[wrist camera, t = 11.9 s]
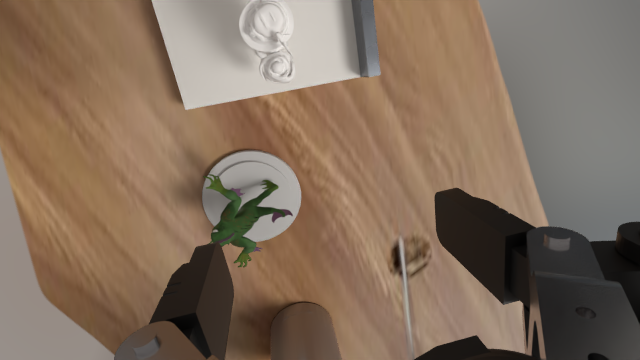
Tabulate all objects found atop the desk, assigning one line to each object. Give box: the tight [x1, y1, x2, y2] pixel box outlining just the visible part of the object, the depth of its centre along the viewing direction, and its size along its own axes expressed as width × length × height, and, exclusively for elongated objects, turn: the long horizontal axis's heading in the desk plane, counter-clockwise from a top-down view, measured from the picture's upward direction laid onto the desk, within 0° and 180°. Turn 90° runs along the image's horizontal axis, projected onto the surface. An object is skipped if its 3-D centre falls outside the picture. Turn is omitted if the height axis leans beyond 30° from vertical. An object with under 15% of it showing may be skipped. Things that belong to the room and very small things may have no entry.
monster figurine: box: [202, 150, 301, 267], centre depth 35 cm, size 12×12×10 cm
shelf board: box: [152, 0, 361, 110], centre depth 33 cm, size 11×20×3 cm, turn 100°
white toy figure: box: [239, 0, 295, 84], centre depth 26 cm, size 9×4×12 cm, turn 13°
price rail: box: [351, 0, 380, 77], centre depth 31 cm, size 11×1×3 cm, turn 10°
